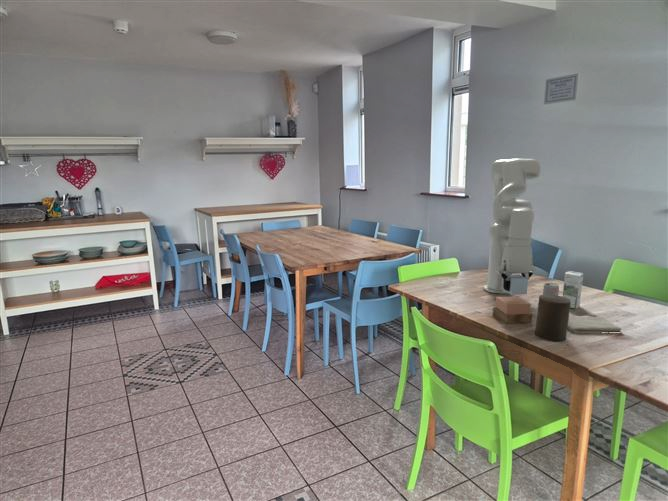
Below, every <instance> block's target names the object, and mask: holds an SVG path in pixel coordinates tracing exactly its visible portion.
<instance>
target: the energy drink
mask: <svg viewBox="0 0 668 501" xmlns="http://www.w3.org/2000/svg"><path fill="white" fill-rule="evenodd" d="M559 286H560V285H559V284H557V283H554V282H545V283H544V285H543V289H542V295H543V294H549V295H558V296H559V292H560V291H559V289H560V287H559Z"/></svg>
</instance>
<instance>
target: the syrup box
mask: <svg viewBox="0 0 668 501" xmlns="http://www.w3.org/2000/svg"><path fill="white" fill-rule="evenodd" d="M583 281H584V273H583V272H579V271H578V272H577V271H573V270H567V271H566V272H565V273H564V280H563V287H562V288H563V289H562V295H561V296H562V297H566V298H569V299H570V300H571V304H570V309H572V308H574V309H573V310H577V309H578V308H579V307H580V304H581V295H582V288H583ZM576 308H577V309H576Z"/></svg>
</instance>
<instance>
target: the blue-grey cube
mask: <svg viewBox="0 0 668 501" xmlns="http://www.w3.org/2000/svg"><path fill="white" fill-rule="evenodd" d="M509 281H510V291H506V290H504V288H503V291H505V292H507V294H509V295H511V296H513V295H514V296H515V295H517V296H518V295H519V296H520V295H527V293H528V286H529V285H528V284H529V280H528V278H526V277H524V276H522V275H521V274H520V273H516V274H512V275H511V277H510V279H509Z"/></svg>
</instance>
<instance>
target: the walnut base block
mask: <svg viewBox="0 0 668 501" xmlns="http://www.w3.org/2000/svg"><path fill="white" fill-rule="evenodd" d="M492 316H493V317H494V318H496V319H497V320H498V321H500V322H501V323H503V324H505V325H507V326H508V325H510V326H511V325H513V326H514V325H531V324H532V322H533V313H531V312H530V314H511V315H506V314H505V313H503V312H502V311H501V310H499V309H498V308H496V307H495V306H493V308H492Z"/></svg>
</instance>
